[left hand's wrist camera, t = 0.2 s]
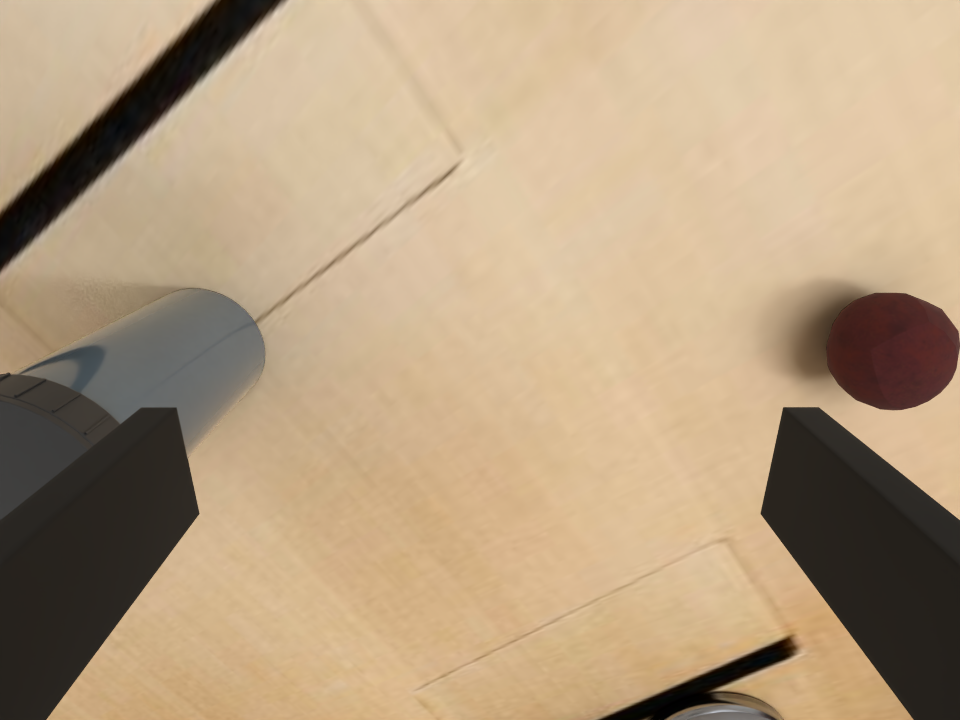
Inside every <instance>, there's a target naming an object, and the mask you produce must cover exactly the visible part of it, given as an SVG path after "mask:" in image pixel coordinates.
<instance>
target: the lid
mask: <svg viewBox="0 0 960 720" xmlns="http://www.w3.org/2000/svg"><path fill="white" fill-rule="evenodd" d="M119 425H120V423H119V422H118V421H117V420H116V419H115V418H114V417H112V415H111V414H109V413H108V412H107V411H106V410H105V409H103V408H102V407H101V406H99V405H98V404H97V403H95V402H94V401H92V400H91V399H89V398H87V397H86V396H84V395H83V394H81V393H79V392H77V391H75V390H73V389H71V388H69V387H67V386H64V385H61V384H59V383H56V382H53V381H50V380H46V379H45V378H43V379H42V378H39V377H34V376H27V375H19V374H10V373H6V374H0V520H1V519H2V518H4V517H5V516H6V515H7V514H9V513H10V512H11V511H12V510H14V509H15V508H16V507H17V506H19V505H20V504H21V503H22V502H24V501H25V500H26V499H27V498H29V497H30V496H31V495H32V494H34V493H35V492H36V491H37V490H39V489H40V488H41V487H42V486H44V485H45V484H46V483H47V482H49V481H50V480H51V479H52V478H54V477H55V476H56V475H57V474H59V473H60V472H61V471H62V470H64V469H65V468H66V467H67V466H69V465H70V464H71V463H72V462H74V461H75V460H76V459H77V458H79V457H80V456H81V455H82V454H84V453H85V452H86V451H87V450H89V449H90V448H91V447H92V446H94V445H95V444H96V443H97V442H99V441H100V440H101V439H102V438H104V437H105V436H106V435H107V434H109V433H110V432H111V431H112V430H114V429H115V428H116V427H117V426H119Z"/></svg>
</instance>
